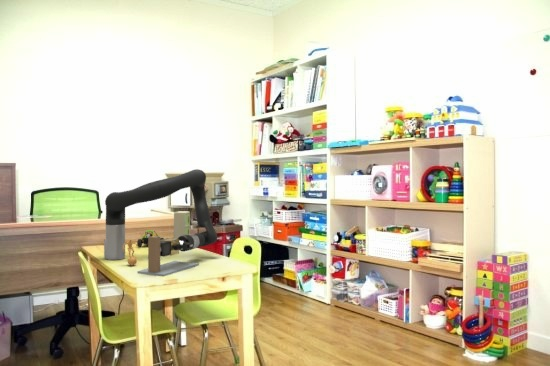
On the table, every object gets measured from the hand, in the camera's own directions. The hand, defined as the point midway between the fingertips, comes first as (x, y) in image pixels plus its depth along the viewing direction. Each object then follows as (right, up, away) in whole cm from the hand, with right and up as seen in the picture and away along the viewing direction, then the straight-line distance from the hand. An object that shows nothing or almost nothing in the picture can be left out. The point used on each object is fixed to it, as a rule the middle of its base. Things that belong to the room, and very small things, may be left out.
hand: (166, 247), depth 206 cm
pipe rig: (+1, -10, +3) cm, 10 cm away
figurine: (-19, -10, +10) cm, 23 cm away
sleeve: (+1, -3, +2) cm, 4 cm away
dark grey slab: (-2, -3, -4) cm, 5 cm away
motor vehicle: (-26, -9, +68) cm, 74 cm away
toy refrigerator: (-5, -9, +58) cm, 59 cm away
